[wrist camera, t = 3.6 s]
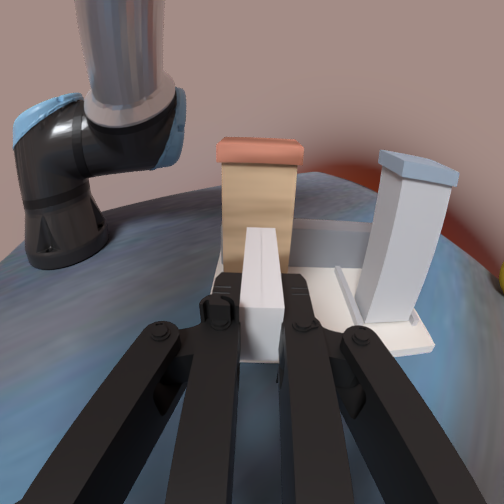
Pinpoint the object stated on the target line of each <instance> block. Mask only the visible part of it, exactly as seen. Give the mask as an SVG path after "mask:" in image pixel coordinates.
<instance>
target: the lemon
mask: <svg viewBox="0 0 504 504" xmlns="http://www.w3.org/2000/svg"><path fill="white" fill-rule="evenodd" d="M499 283H500V287H501V289H502V290H503V293H504V262H503V264H502V266H501V269H500V274H499Z"/></svg>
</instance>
